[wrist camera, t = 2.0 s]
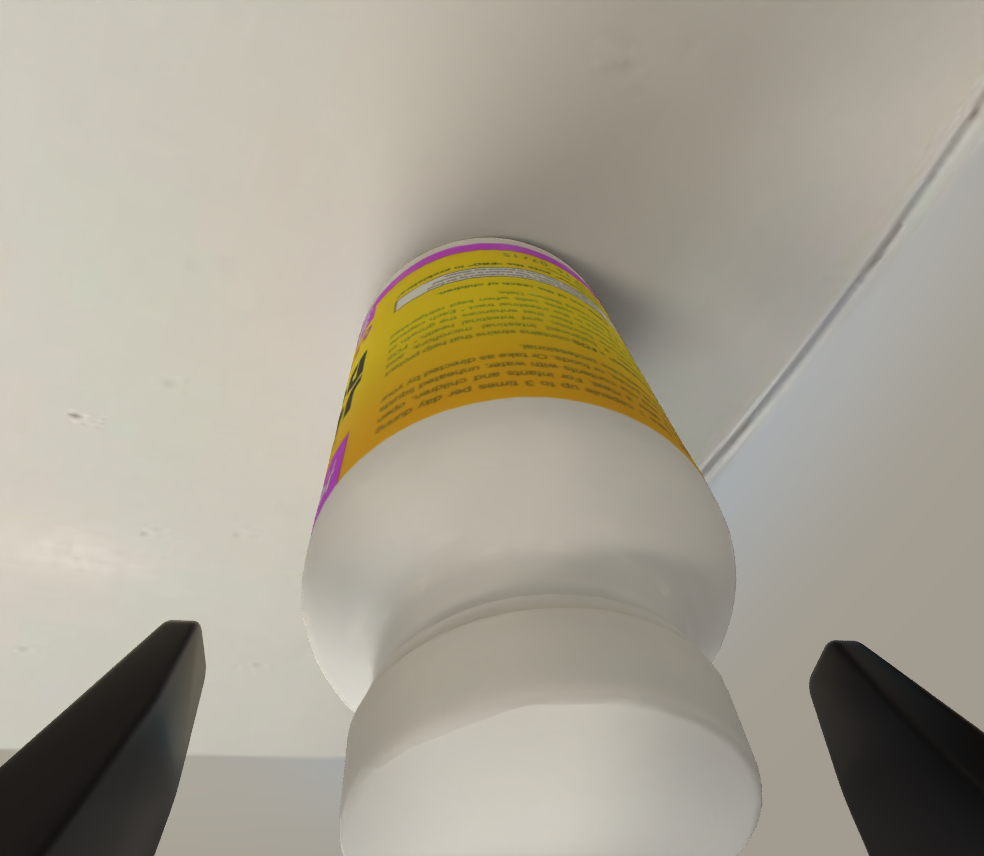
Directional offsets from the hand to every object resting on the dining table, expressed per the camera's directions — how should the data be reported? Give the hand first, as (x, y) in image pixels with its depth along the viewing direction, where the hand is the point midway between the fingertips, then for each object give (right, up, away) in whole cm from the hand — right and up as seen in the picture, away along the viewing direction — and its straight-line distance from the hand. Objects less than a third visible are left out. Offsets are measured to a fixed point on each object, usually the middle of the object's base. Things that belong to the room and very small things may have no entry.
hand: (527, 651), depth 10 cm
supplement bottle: (-1, +5, +9) cm, 10 cm away
